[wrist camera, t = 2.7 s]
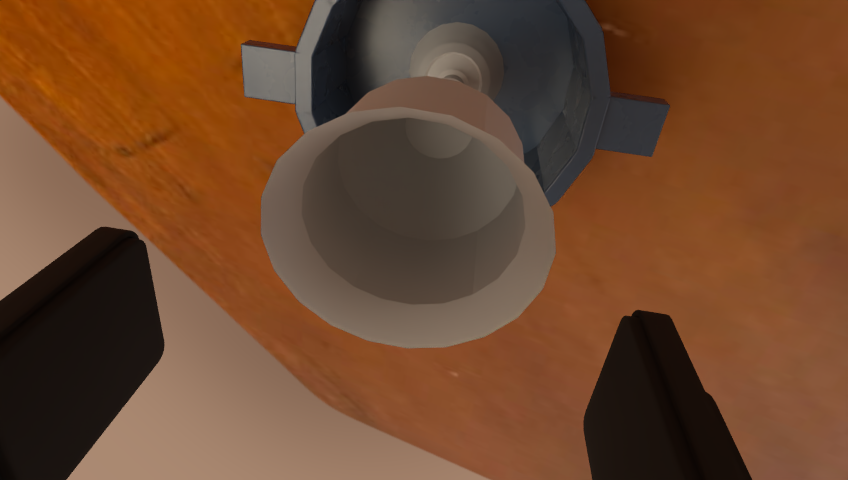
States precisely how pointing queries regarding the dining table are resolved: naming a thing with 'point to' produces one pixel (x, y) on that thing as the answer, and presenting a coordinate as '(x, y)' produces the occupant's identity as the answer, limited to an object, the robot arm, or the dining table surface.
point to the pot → (521, 87)
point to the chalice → (414, 205)
